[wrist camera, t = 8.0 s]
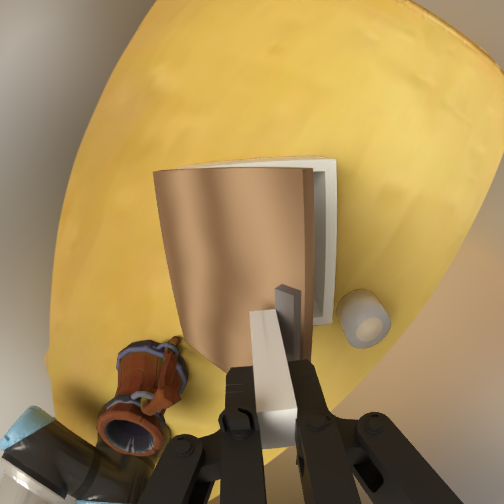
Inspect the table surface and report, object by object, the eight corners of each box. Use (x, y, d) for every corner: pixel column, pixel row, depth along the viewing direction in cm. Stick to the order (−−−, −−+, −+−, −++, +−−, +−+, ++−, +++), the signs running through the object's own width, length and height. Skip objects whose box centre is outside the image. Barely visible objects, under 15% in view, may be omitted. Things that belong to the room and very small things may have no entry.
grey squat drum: (334, 329, 38) (344, 352, 33) (337, 291, 36) (349, 312, 31) (373, 323, 38) (386, 344, 33) (379, 286, 35) (394, 306, 31)
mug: (156, 293, 35) (114, 374, 21) (228, 339, 38) (221, 428, 24) (110, 365, 40) (77, 434, 26) (168, 399, 43) (151, 471, 29)
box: (204, 295, 35) (194, 334, 28) (185, 165, 30) (166, 171, 22) (315, 287, 35) (331, 323, 28) (314, 155, 30) (336, 159, 22)
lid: (191, 337, 28) (180, 343, 27) (161, 170, 22) (146, 173, 21) (306, 414, 18) (293, 426, 17) (313, 167, 12) (293, 170, 11)
